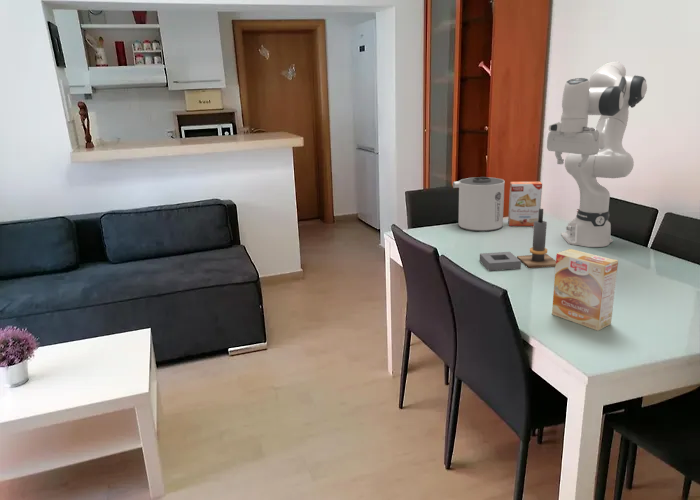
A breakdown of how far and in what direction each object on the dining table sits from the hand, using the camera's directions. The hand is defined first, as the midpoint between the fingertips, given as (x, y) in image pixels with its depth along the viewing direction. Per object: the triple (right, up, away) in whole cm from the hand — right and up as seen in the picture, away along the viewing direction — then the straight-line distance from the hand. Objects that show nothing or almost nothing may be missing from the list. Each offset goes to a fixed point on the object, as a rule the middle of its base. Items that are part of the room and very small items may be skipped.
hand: (570, 165), depth 191 cm
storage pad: (-7, -35, +13) cm, 38 cm away
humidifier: (-18, -19, +68) cm, 72 cm away
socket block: (-22, -36, +12) cm, 44 cm away
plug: (-7, -34, +12) cm, 37 cm away
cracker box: (+4, -19, +65) cm, 68 cm away
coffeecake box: (-12, -51, -36) cm, 64 cm away
